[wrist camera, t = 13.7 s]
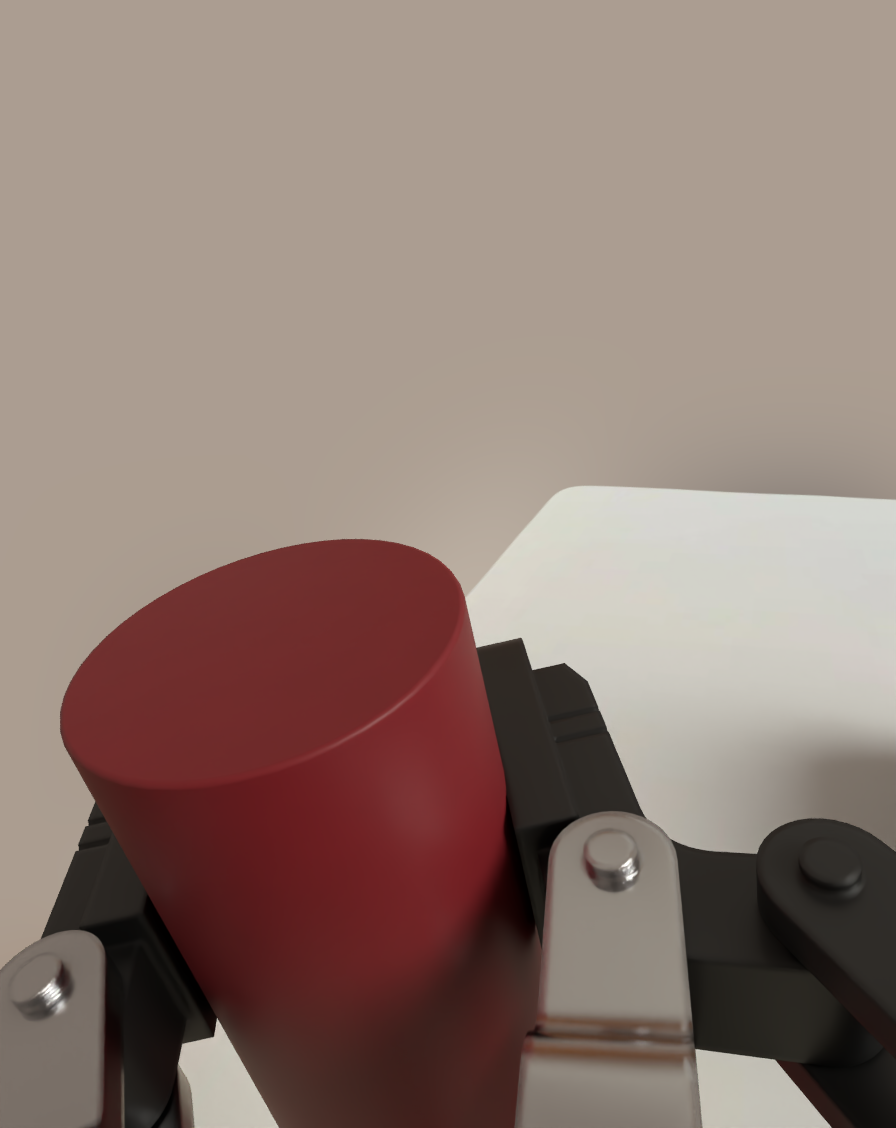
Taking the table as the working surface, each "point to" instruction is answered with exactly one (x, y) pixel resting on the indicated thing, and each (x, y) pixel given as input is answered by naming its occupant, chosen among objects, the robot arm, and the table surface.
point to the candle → (324, 828)
